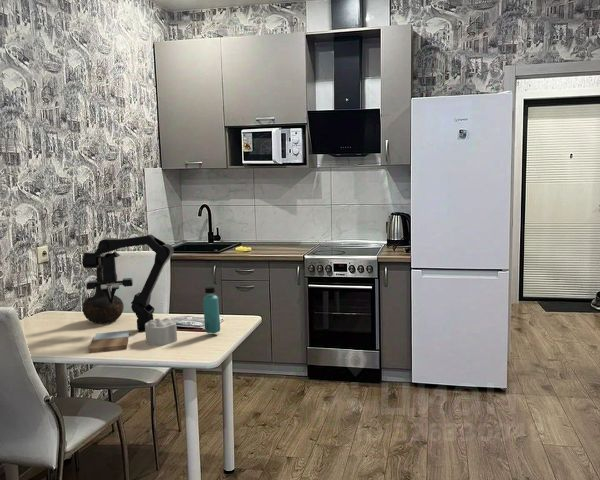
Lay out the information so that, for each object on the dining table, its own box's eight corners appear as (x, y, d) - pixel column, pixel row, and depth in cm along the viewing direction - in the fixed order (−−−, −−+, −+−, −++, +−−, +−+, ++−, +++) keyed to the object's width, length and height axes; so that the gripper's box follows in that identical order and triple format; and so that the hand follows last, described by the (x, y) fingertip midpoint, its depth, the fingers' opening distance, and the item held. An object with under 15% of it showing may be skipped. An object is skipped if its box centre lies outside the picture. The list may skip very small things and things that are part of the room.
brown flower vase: (82, 320, 272) (77, 261, 269) (121, 315, 280) (117, 257, 277) (85, 328, 256) (80, 266, 253) (127, 323, 264) (122, 262, 261)
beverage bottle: (223, 333, 241) (221, 285, 238) (214, 337, 235) (212, 289, 232) (210, 332, 243) (207, 285, 241) (201, 336, 237) (198, 288, 235)
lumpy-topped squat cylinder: (159, 346, 225) (158, 325, 224) (139, 341, 233) (138, 320, 232) (180, 340, 233) (179, 319, 232) (160, 335, 241) (159, 315, 240)
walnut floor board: (128, 340, 235) (128, 336, 235) (126, 349, 223) (126, 345, 223) (93, 344, 232) (92, 340, 232) (89, 352, 220) (89, 348, 220)
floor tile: (129, 333, 245) (128, 330, 245) (127, 340, 235) (127, 336, 235) (96, 336, 242) (96, 333, 242) (94, 343, 233) (93, 339, 232)
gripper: (132, 263, 259) (134, 297, 261) (88, 266, 255) (90, 301, 256) (130, 267, 248) (133, 302, 250) (84, 270, 244) (87, 306, 246)
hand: (111, 303), depth 251 cm, fingers closed
